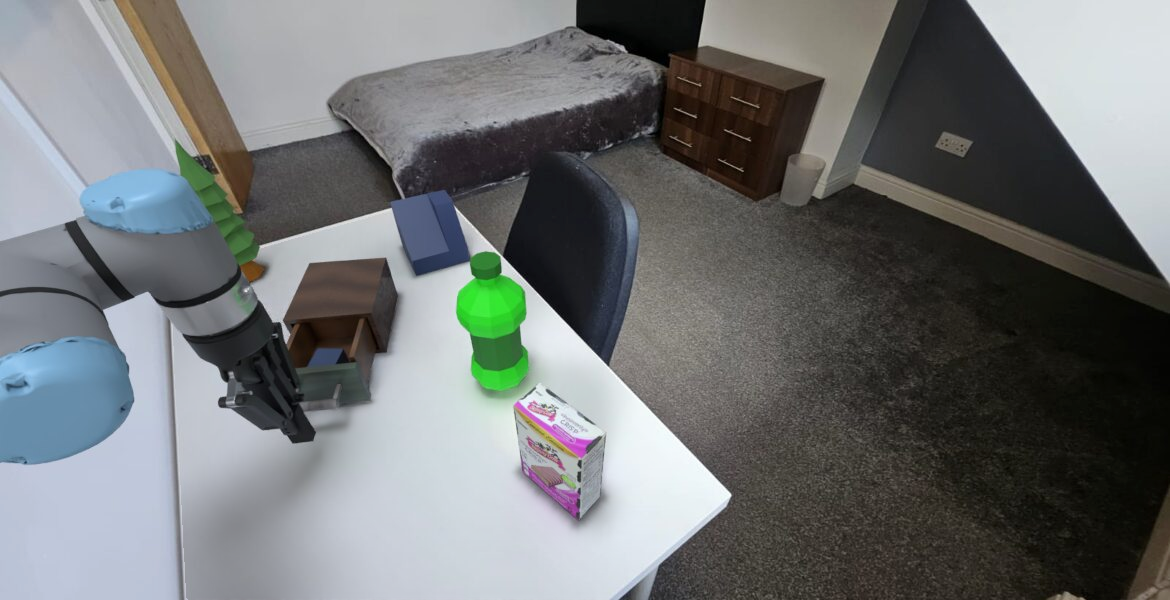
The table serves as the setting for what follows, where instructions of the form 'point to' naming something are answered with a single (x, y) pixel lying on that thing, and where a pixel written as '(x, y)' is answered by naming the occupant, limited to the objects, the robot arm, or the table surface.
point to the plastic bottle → (494, 323)
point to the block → (328, 357)
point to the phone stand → (430, 232)
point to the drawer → (337, 380)
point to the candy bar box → (560, 449)
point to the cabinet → (347, 295)
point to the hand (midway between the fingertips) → (304, 437)
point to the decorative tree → (221, 213)
